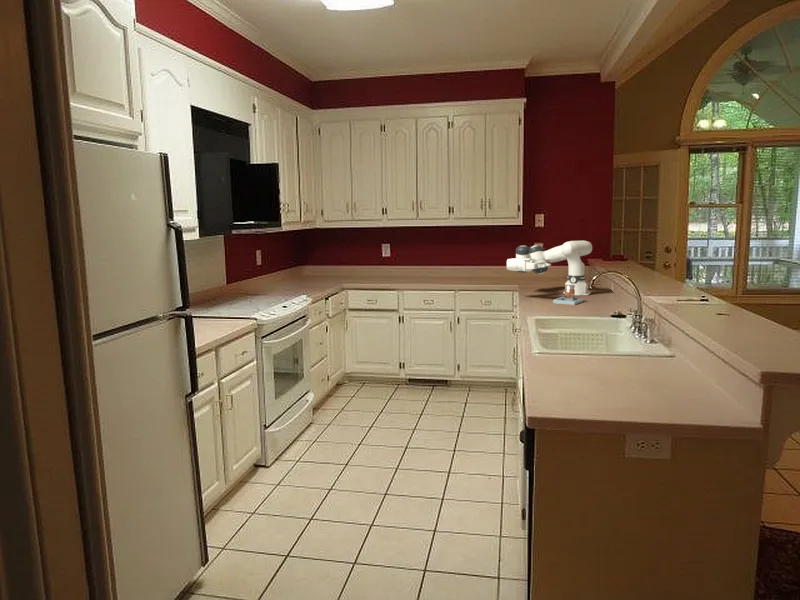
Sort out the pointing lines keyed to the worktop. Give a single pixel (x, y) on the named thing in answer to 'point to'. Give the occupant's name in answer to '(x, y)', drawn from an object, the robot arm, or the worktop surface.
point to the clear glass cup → (570, 292)
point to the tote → (563, 301)
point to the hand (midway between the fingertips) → (547, 265)
